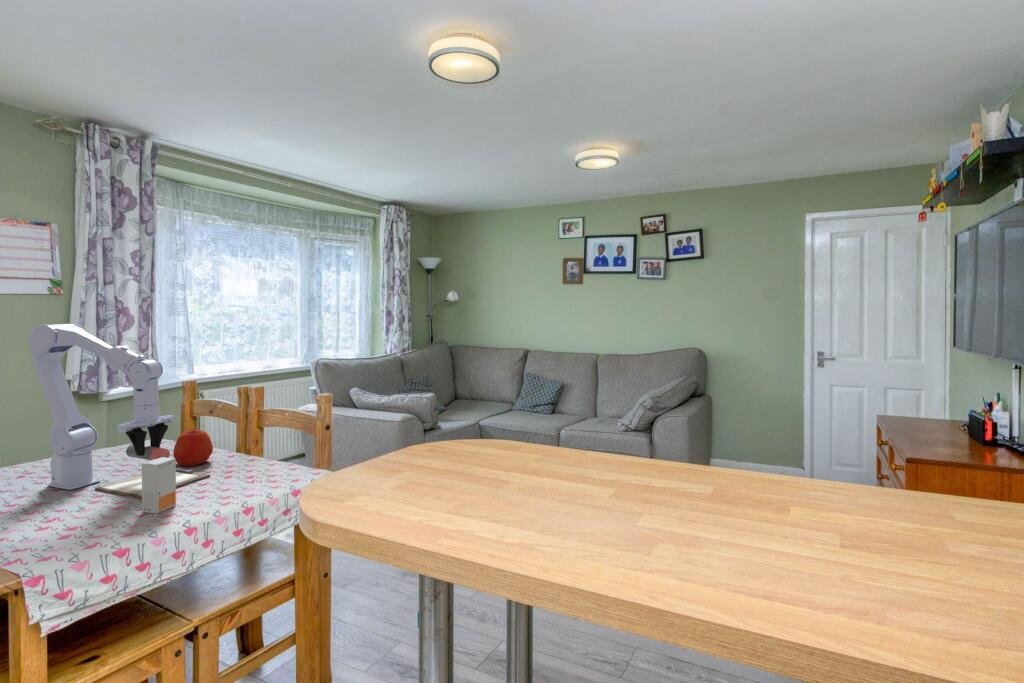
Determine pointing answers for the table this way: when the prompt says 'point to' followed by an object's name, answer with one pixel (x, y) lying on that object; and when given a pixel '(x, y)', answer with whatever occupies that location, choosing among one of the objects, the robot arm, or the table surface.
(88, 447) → the robot arm
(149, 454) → the marker
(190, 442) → the apple
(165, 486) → the skincare box
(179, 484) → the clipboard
